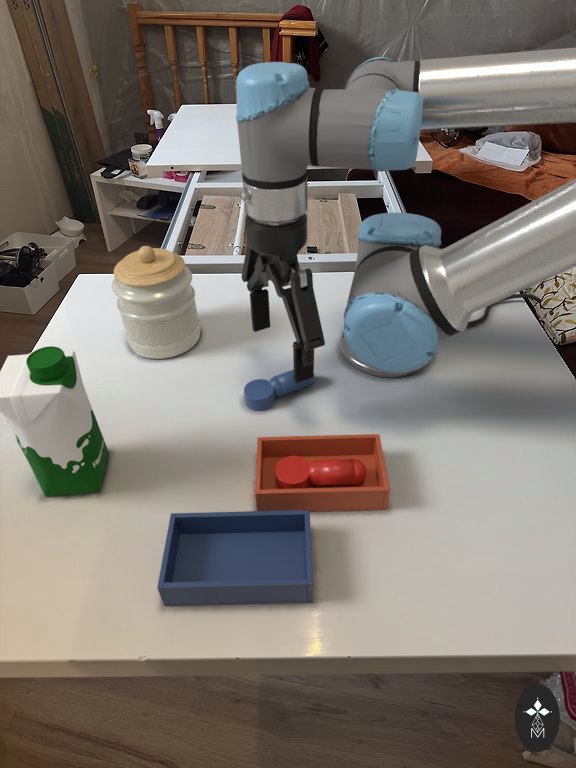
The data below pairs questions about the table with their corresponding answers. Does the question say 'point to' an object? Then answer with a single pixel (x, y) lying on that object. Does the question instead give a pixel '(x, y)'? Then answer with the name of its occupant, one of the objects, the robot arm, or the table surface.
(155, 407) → the table surface
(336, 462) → the red disc-headed bar
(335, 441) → the bin red
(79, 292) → the table surface
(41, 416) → the milk carton
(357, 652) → the table surface
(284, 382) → the blue toy rattle
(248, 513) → the bin blue
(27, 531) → the table surface
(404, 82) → the robot arm
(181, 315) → the jar
